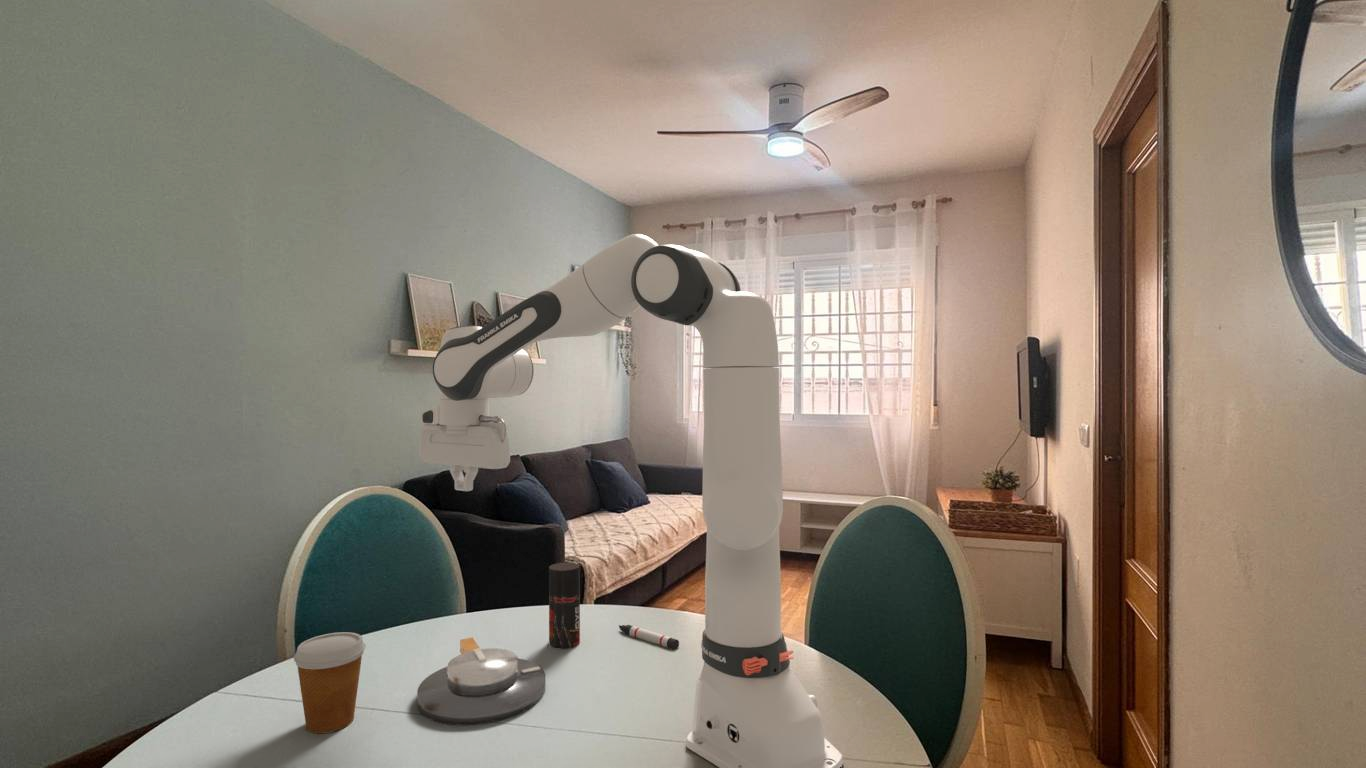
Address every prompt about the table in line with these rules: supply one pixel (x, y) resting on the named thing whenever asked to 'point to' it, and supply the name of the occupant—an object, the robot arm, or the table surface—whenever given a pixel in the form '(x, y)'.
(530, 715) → the table surface
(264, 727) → the table surface
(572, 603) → the deodorant
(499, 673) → the dial
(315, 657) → the disposable coffee cup
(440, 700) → the plate
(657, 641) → the marker
